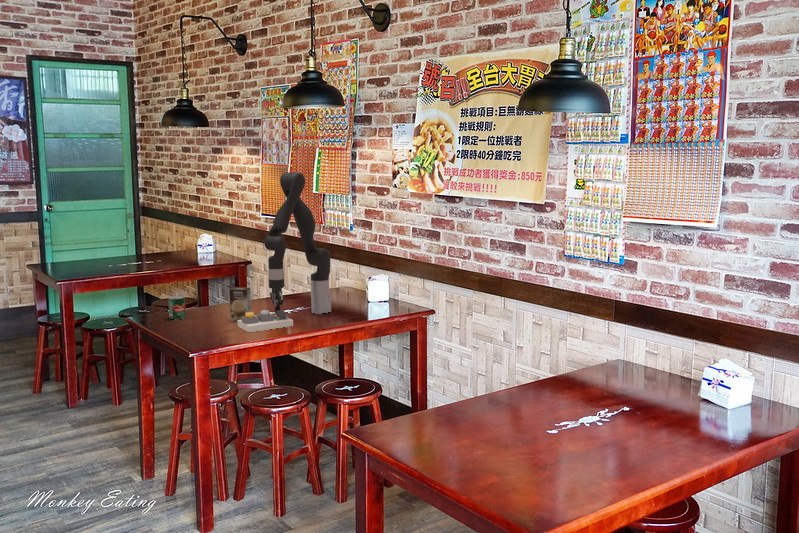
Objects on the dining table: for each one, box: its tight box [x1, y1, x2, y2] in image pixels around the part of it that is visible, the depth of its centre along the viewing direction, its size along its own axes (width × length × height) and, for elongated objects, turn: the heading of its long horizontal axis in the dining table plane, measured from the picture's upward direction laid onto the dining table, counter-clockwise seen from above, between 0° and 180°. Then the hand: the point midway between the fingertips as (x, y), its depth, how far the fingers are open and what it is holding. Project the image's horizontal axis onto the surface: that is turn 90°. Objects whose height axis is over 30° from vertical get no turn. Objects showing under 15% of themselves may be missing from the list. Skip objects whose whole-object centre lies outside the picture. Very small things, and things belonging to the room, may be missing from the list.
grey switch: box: [260, 309, 270, 317], centre depth 352 cm, size 4×4×3 cm
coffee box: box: [229, 286, 252, 323], centre depth 365 cm, size 9×6×16 cm
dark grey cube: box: [275, 309, 286, 320], centre depth 354 cm, size 3×3×4 cm
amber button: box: [245, 311, 255, 319], centre depth 348 cm, size 4×4×3 cm
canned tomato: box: [167, 295, 187, 321], centre depth 371 cm, size 8×8×11 cm
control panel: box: [237, 312, 294, 334], centre depth 352 cm, size 22×15×6 cm
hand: (277, 313), depth 357 cm, fingers closed
